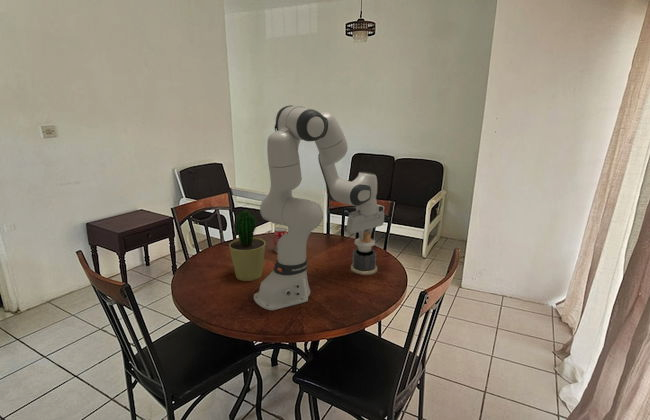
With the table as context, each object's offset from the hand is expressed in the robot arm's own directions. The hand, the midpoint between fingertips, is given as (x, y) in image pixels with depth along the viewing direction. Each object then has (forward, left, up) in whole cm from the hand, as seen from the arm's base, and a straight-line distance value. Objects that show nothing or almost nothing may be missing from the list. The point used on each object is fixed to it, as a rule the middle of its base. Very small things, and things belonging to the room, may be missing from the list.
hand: (365, 238), depth 164 cm
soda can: (-18, +42, -15) cm, 48 cm away
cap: (0, 0, -6) cm, 6 cm away
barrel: (0, 0, -15) cm, 15 cm away
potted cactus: (-44, +27, -15) cm, 54 cm away
